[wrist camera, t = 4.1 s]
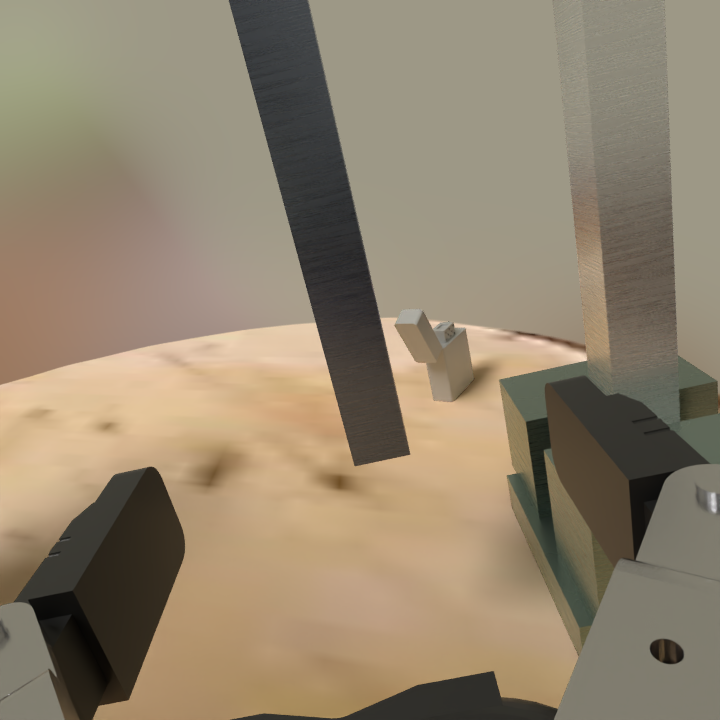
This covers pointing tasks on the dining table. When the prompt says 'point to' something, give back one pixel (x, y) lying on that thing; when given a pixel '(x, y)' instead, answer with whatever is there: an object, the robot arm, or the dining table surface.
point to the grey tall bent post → (609, 283)
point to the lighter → (438, 352)
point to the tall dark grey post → (322, 218)
